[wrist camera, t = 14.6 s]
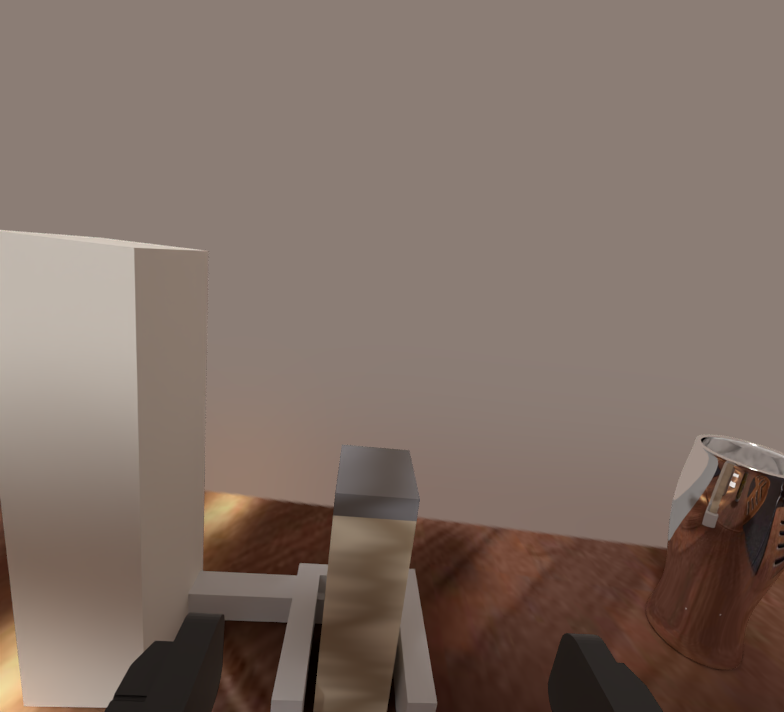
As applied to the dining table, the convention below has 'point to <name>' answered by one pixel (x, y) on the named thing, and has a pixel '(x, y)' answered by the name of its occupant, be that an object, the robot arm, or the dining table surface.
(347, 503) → the rail end
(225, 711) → the dining table surface
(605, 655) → the robot arm
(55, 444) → the white socket stand
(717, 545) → the beer glass
